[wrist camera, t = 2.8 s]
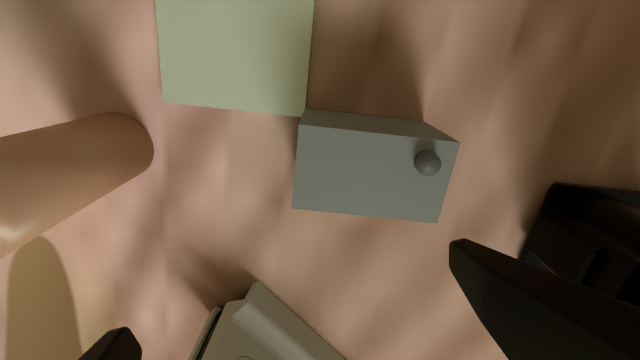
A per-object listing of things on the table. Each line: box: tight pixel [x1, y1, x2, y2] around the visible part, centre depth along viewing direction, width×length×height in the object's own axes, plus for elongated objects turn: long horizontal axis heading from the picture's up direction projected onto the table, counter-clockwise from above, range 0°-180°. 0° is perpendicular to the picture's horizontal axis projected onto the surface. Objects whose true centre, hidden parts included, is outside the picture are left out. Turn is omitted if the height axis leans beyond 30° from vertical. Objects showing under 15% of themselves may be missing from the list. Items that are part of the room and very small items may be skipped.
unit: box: [292, 108, 460, 223], centre depth 16 cm, size 7×4×6 cm, turn 84°
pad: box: [155, 0, 315, 117], centre depth 16 cm, size 8×8×1 cm
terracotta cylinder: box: [0, 112, 154, 259], centre depth 14 cm, size 4×4×9 cm
